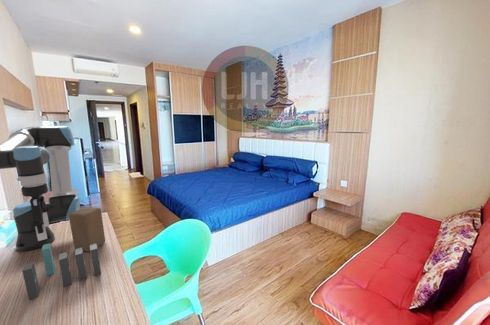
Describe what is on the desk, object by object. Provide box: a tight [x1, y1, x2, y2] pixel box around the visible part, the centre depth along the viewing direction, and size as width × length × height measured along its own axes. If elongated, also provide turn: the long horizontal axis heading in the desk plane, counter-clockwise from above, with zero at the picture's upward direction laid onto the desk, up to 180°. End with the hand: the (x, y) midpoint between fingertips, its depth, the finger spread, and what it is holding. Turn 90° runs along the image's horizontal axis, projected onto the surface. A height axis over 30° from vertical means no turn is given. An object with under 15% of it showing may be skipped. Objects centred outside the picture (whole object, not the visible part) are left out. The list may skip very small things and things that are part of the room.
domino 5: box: [90, 244, 102, 277], centre depth 94 cm, size 5×2×12 cm, turn 38°
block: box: [68, 206, 106, 253], centre depth 112 cm, size 10×10×20 cm
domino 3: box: [58, 251, 73, 288], centre depth 88 cm, size 5×2×12 cm, turn 38°
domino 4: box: [74, 248, 88, 282], centre depth 91 cm, size 5×2×12 cm, turn 38°
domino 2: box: [41, 243, 56, 277], centre depth 94 cm, size 5×2×12 cm, turn 38°
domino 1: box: [22, 261, 40, 301], centre depth 82 cm, size 5×2×12 cm, turn 38°
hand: (44, 232), depth 92 cm, fingers open, 13 cm apart
